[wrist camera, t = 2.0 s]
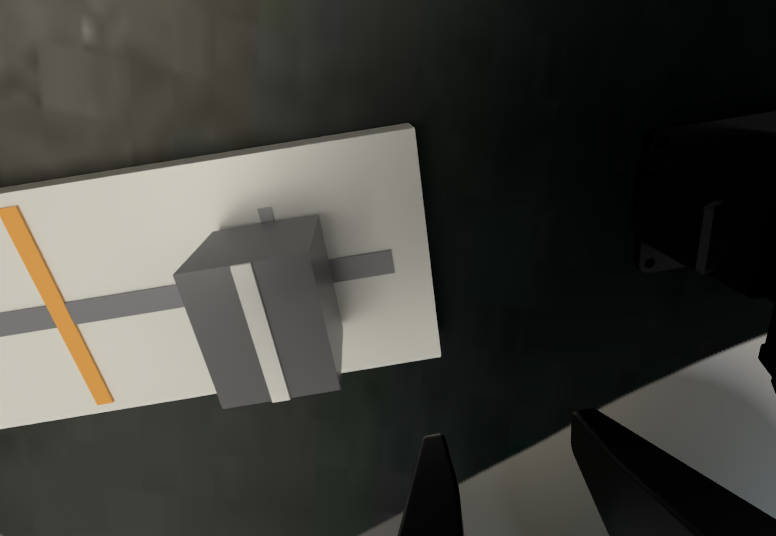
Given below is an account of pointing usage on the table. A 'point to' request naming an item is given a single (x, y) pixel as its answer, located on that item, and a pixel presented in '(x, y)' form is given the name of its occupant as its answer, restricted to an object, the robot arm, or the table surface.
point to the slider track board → (177, 243)
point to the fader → (265, 311)
